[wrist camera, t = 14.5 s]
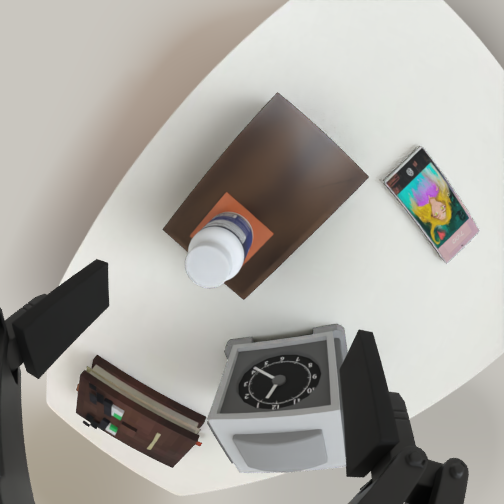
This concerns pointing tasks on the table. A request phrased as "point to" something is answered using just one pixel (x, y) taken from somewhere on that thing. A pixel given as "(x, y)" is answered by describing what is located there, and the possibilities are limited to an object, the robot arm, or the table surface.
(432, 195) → the smartphone
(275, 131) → the wooden box
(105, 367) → the decorative book
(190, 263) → the pill bottle
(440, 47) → the table surface
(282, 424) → the alarm clock
